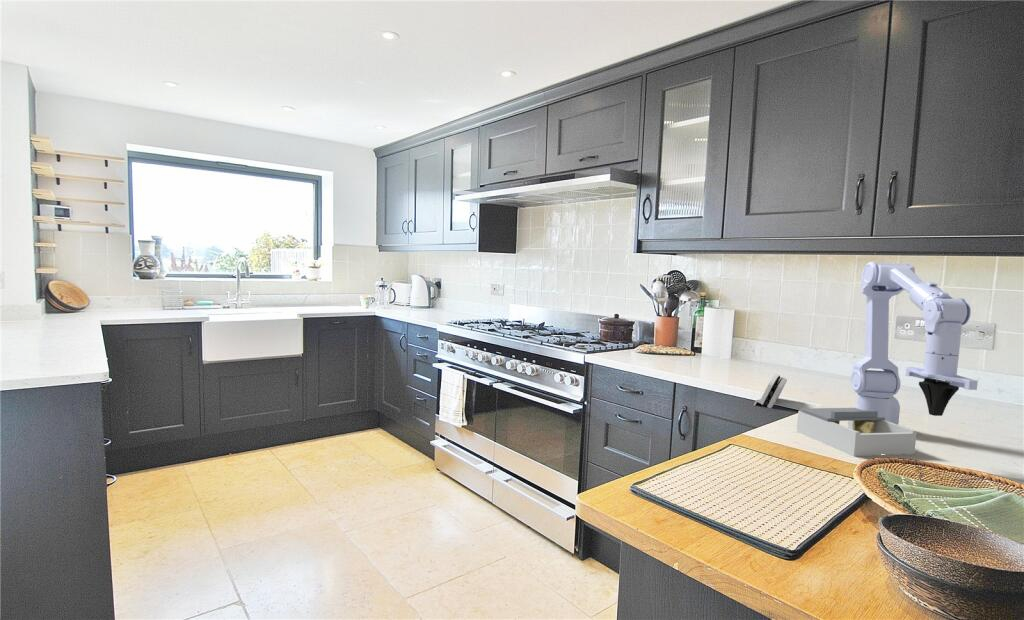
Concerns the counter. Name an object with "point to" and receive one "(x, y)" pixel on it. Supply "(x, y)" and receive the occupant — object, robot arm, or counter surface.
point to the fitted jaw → (864, 426)
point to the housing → (859, 436)
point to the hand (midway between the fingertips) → (935, 415)
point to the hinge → (772, 391)
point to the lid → (843, 414)
